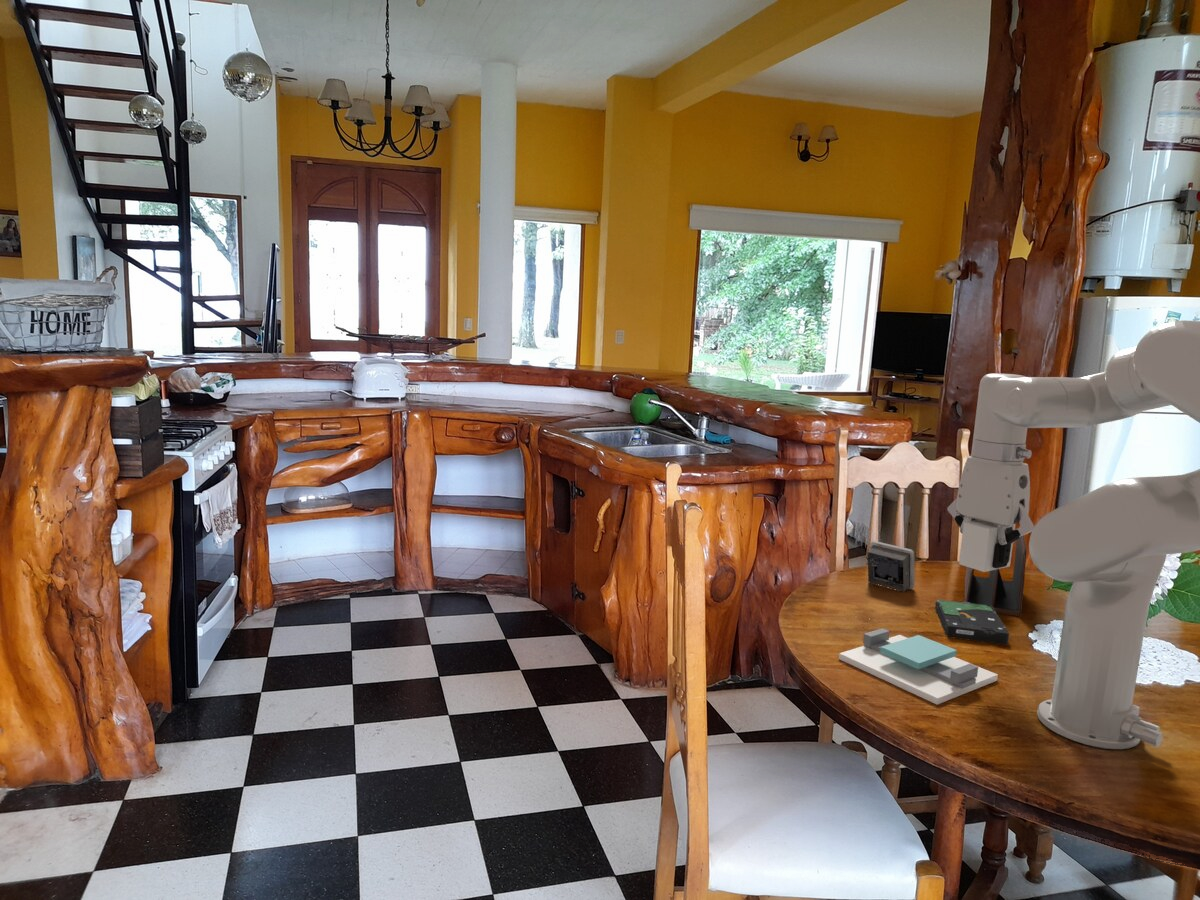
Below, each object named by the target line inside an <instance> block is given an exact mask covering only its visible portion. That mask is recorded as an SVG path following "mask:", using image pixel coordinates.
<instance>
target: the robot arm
mask: <svg viewBox="0 0 1200 900" xmlns="http://www.w3.org/2000/svg"><path fill="white" fill-rule="evenodd" d="M977 396H978V397H977V403H976V404H977V406H976V412H975V418H974V420H975V421H974V429H973V438H972V444H971V445H972V446H971V453H970V455H969V456H967V458H966V461H965V463H964V466H963V470H962V472H961V476H960V481H959V484H958V490H957V497H956V498H955V499H954V500H953V501H952V502H951V503H950V504H949V506H947V507H946V508H947V510H946V511H947V512H948V514H950V515H951V517H952V518H954V521H955V523H956V525H957V526H958V528H959V532H960V534H961V535H962V534H963V525H964V522H969V521H975V520H980V521H984V522H988V523H992V524H996V525H997V528H998V529H997V533H998V541H999V542H998V543H996V544H995V549H994V556H993V564H992V566H993V568H1000V569H1002V568H1001V567H1005V566H1007V563H1008V562H1009V558H1010V550H1011V543H1013V544H1014V543H1015V542H1016V540H1018V539H1019V538H1021V537H1022V536H1023V535H1024V536H1026V535H1028V534H1029V533H1031V534H1030V536H1029V542H1028V551H1029V556H1030V558H1031V561H1032V562H1033V565H1035V567H1036V568H1037V569H1038V570H1039V572H1041V573H1043V574H1044V575H1045V576H1047V577H1048V578H1051V579H1053V580H1055V581H1059V582H1061V583H1062V582H1063V583H1072V586H1071V587H1070V589H1069V593H1068V596H1067V599H1066V602H1065V603H1066V604H1065V609H1064V614H1063V622H1062V627H1061V634H1060V635H1061V636H1060V642H1059V647H1058V656H1057V662H1056V668H1055V675H1054V681H1053V689H1052V695H1051V698H1050V699H1046V700H1044V701H1042V702H1040V703H1039V705H1038V706H1037V712H1036V715H1037V718H1038V719H1039V721H1040V722H1041V723H1042V724H1043V725H1044V726H1045V727H1047V728H1048V729H1049V730H1051V731H1052V732H1054V733H1056V734H1057V735H1060V736H1061V737H1064V738H1066V739H1069V740H1070V741H1074V742H1077V743H1080V744H1083V745H1085V746H1090V747H1094V748H1099V749H1105V750H1107V749H1108V750H1109V749H1110V750H1125V749H1130V748H1133V747H1136V746H1137V745H1138V744H1140V742H1141V741H1142V742H1144V743H1146V744H1149V745H1151V746H1154V747H1156V748H1158V747H1160V746H1161V744H1162V742H1163V739H1164V737H1163V735H1164V734H1163V733H1162V732H1161V727H1160V726H1159V725H1157V724H1155V723H1152V722H1149V721H1145V720H1143V719H1142V717H1141V716H1139V714H1140V710H1141V709H1140V708H1141V707H1140V706H1138V705H1136V704H1134V703H1133V702H1134V701H1133V700H1134V695H1135V688H1136V684H1137V678H1138V677H1137V676H1138V671H1139V665H1140V659H1141V655H1142V654H1141V653H1142V647H1143V642H1144V635H1145V632H1146V625H1147V621H1148V617H1149V616H1148V615H1149V610H1150V607H1151V606H1150V605H1151V602H1152V597H1153V595H1154V594H1153V593H1154V591H1155V589H1156V585H1157V583H1158V581H1159V577H1160V576H1161V573H1162V571H1163V567H1164V565H1165V562H1166V558H1167V555H1176V554H1184V553H1194V552H1197V551H1200V468H1199V469H1196V470H1193V471H1191V472H1187V473H1184V474H1177V475H1164V476H1163V475H1162V476H1161V475H1160V476H1140V477H1139V476H1138V477H1129V478H1124V479H1119V480H1116V481H1113V482H1110V483H1107V484H1104V485H1102V486H1100V487H1097V488H1096V489H1093V490H1092V491H1090V492H1088V493H1085V494H1083V495H1080V496H1079V497H1077V498H1075V499H1074V500H1071V501H1069V502H1067V503H1065V504H1063V505H1062V506H1061V505H1060V506H1059V507H1057V508H1055V509H1052V510H1051V511H1049V512H1048V513H1046V514H1045V515H1043V516H1042V517H1041V518H1040V519H1039V520H1038V522H1037V523H1036V524H1035V525H1034V523H1033V521H1032V520H1031V518H1030V516H1029V512H1030V498H1031V479H1030V469H1029V464H1028V463H1026V462H1024V461H1025V459H1031V458H1032V454H1033V453H1032V450H1031V449H1027V444H1026V442H1027V435H1028V429H1048V428H1051V429H1052V428H1055V429H1056V428H1059V429H1060V428H1071V429H1072V428H1075V429H1076V428H1084V427H1090V426H1094V425H1095V426H1097V425H1100V424H1106V423H1112V422H1115V421H1121V420H1124V419H1128V418H1131V417H1133V416H1137V415H1139V414H1141V413H1142V412H1144V411H1145V412H1146V411H1150V410H1154V409H1160V408H1164V407H1170V406H1172V407H1174V408H1176V409H1177V410H1178V411H1180V412H1182V413H1183V414H1185V415H1186V416H1188V417H1189V418H1191V419H1193V420H1194V421H1196V422H1198V424H1200V320H1174V321H1168V322H1165V323H1161V324H1160V325H1157V326H1156V327H1154V328H1151V329H1150V330H1149V331H1147V332H1146V334H1145V335H1144V336H1142V338H1141V339H1140V340H1139V342H1138V344H1137V345H1135V346H1132V347H1128V348H1125V349H1121V350H1119V351H1118V352H1116V353H1115V354H1113V355H1112V356H1111V357H1110V359H1109V360H1108V363H1107V365H1106V368H1105V371H1103V372H1099V373H1094V374H1091V375H1087V376H1082V377H1065V376H1060V377H1059V376H1055V377H1054V376H1045V377H1043V376H1042V377H1041V376H1026V375H1021V374H1014V373H998V372H997V373H996V372H995V373H988V374H987V373H986V374H985V375H983V377H982V378H981V379H980V382H979V386H978V395H977ZM1014 524H1015V525H1016V524H1017V525H1020V526H1019V527H1018V528H1015V530H1014ZM1005 568H1006V567H1005Z"/></svg>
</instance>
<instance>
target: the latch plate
mask: <svg viewBox="0 0 1200 900" xmlns="http://www.w3.org/2000/svg"><path fill="white" fill-rule="evenodd" d="M906 638H907V639H904V640H901V641H898V642H894V643H891V644H888V645H885V646H882V647H881V649H880V653H882V654H884V655H887V656H889V657H891V658H893V659H896V660H898V661H900V662H903V663H905V664H907V665H910V666H912V667H914V668H916V669H921V668H924V667H927V666H929V665H932V664H935V663H938V662H941V661H944V660H946V659H949V658H952V657H957V652H958V651H957V649H955V648H952V647H950V646H947V645H945V644H942V643H940V642H937V641H934V640H932V639H929V638H928V637H924V636H922V635H919V634H917V635H914V636H911V637H906Z"/></svg>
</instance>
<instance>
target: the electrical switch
mask: <svg viewBox="0 0 1200 900" xmlns="http://www.w3.org/2000/svg"><path fill="white" fill-rule="evenodd" d="M866 553H867V576H868V577H867V578H868V579H867V580H868V582H867V583H868V584H870V583H871V585H874V584H877V585H878V584H879V585H882V586H884V587H883V588H885V587H889V588H892V589H896V590H899V591H898V592H900V591H903V592H902V593H905V592H906V591H907V590H909V589H911V590H913V589H914V588H915V586H916V585H915V584H916V582H915V581H916V580H915V579H916V577H915V575H916V574H915V551H914V550H913V549H910V548H906V547H902V546H898V545H894V544H890V543H889V544H888V543H884V542H880V541H876V540H873V541H871V542H870V543H869V550H867V552H866ZM887 583H888V584H887ZM877 585H876V586H877ZM889 588H888V589H889ZM892 589H891V590H892ZM896 590H895V591H896ZM911 590H910V591H911Z"/></svg>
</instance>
